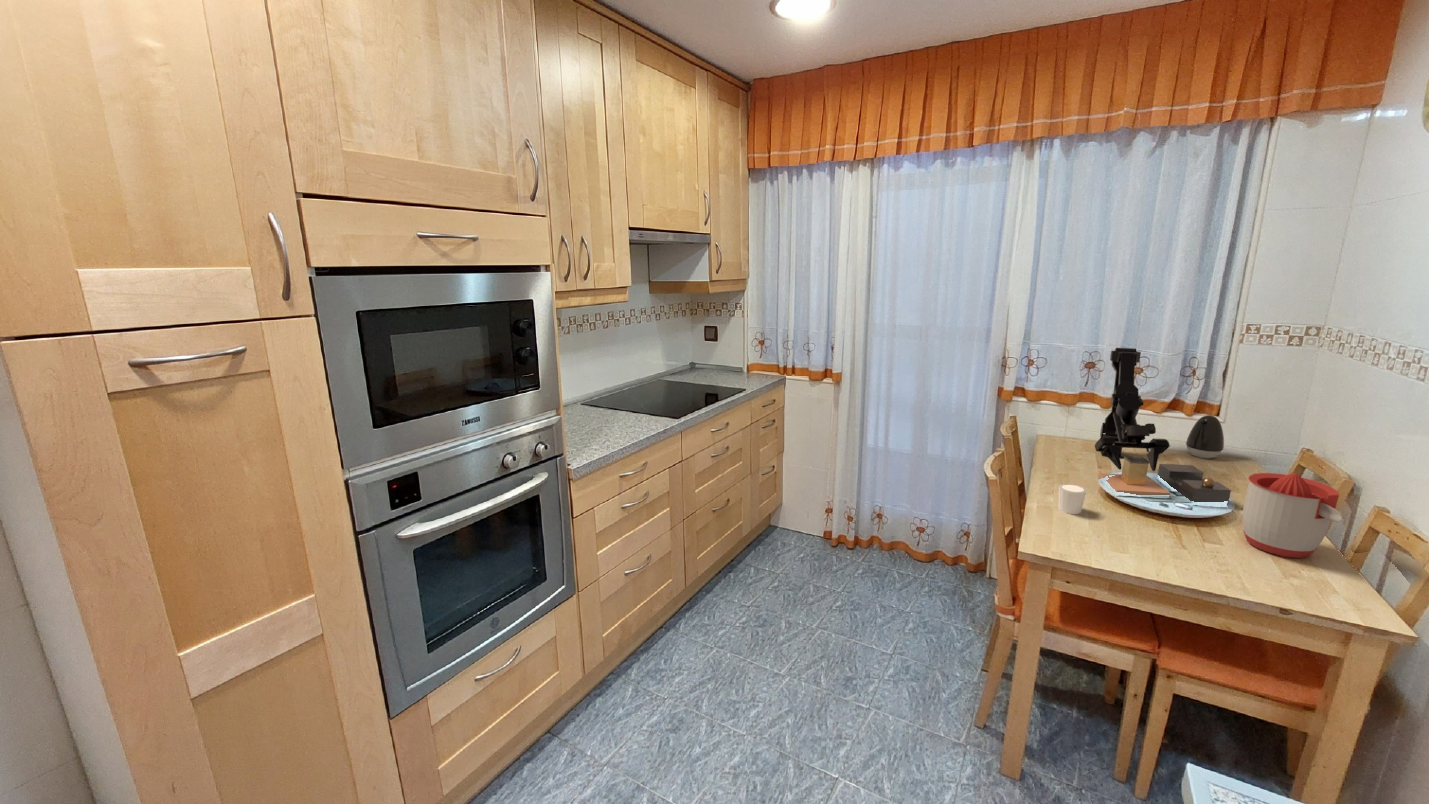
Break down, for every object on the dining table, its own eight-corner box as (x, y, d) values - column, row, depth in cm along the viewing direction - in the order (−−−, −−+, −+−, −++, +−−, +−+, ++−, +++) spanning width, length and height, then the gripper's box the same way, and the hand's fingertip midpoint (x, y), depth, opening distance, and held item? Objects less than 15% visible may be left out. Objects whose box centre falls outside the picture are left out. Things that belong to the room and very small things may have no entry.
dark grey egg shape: (1177, 454, 205) (1185, 414, 201) (1193, 449, 209) (1201, 410, 205) (1211, 463, 196) (1219, 421, 192) (1227, 457, 200) (1235, 416, 196)
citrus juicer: (1302, 572, 131) (1323, 492, 126) (1219, 537, 147) (1235, 466, 142) (1348, 560, 135) (1369, 483, 130) (1262, 528, 151) (1279, 458, 146)
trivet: (1097, 478, 186) (1098, 473, 186) (1146, 481, 183) (1147, 475, 183) (1116, 496, 173) (1117, 490, 173) (1169, 499, 170) (1170, 493, 170)
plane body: (1156, 479, 184) (1160, 456, 182) (1188, 481, 182) (1193, 457, 180) (1191, 505, 165) (1195, 480, 163) (1227, 507, 163) (1232, 482, 161)
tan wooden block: (1120, 479, 180) (1124, 456, 178) (1138, 480, 179) (1142, 456, 177) (1126, 484, 176) (1130, 460, 174) (1145, 485, 175) (1149, 461, 173)
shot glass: (1075, 505, 169) (1078, 483, 167) (1088, 515, 162) (1091, 492, 160) (1051, 505, 169) (1054, 483, 167) (1063, 515, 163) (1066, 492, 161)
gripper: (1103, 412, 178) (1113, 457, 171) (1172, 414, 174) (1185, 460, 166) (1090, 428, 188) (1099, 472, 180) (1155, 431, 183) (1167, 475, 176)
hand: (1137, 469), depth 175 cm, fingers open, 9 cm apart
